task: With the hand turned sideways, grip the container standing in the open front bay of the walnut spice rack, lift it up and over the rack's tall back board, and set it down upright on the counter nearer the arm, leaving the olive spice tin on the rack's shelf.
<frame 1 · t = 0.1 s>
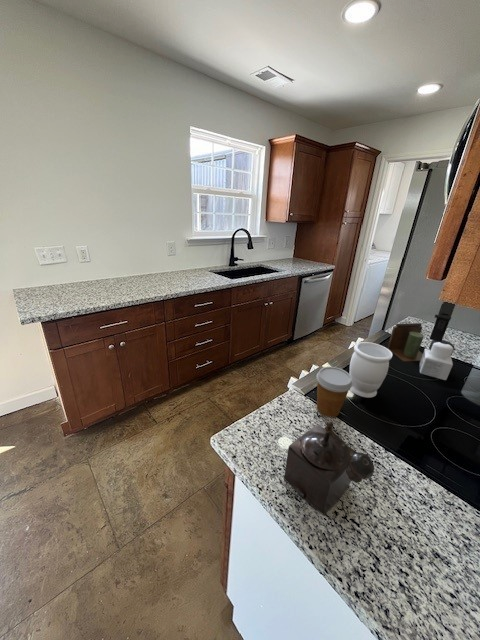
hand: (437, 332, 77), 22 cm above the worktop, tool pointing down, fingers open, 13 cm apart
container: (431, 374, 95), on the worktop
jar: (361, 390, 86), on the worktop
disposable coffee cup: (327, 410, 77), on the worktop
spice rack: (419, 364, 101), on the worktop
spice tin: (409, 354, 105), point 1 cm above the worktop, touching spice rack
brown coffee grinder: (325, 491, 55), on the worktop
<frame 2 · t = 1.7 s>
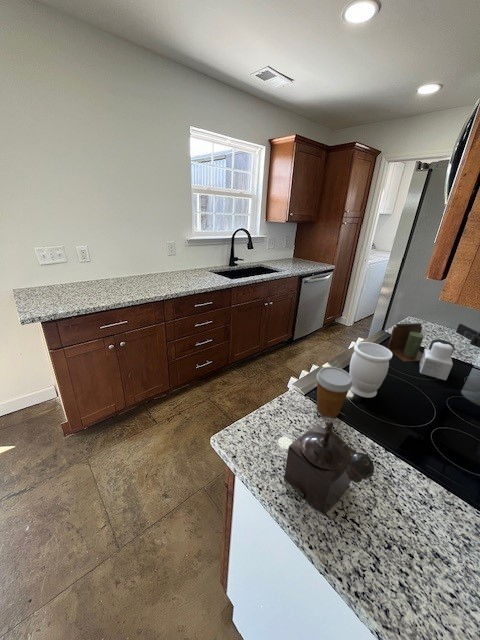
hand: (479, 328, 78), 22 cm above the worktop, tool horizontal, fingers open, 13 cm apart
nothing on the worktop moved.
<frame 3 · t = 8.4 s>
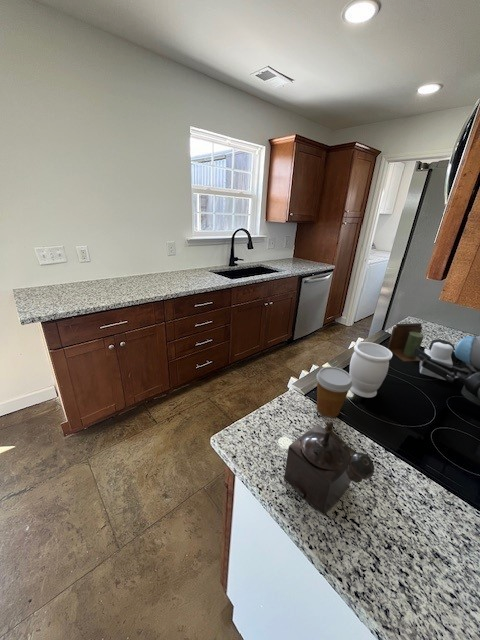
hand: (429, 350, 96), 7 cm above the worktop, tool horizontal, fingers closed on container, 10 cm apart
container: (431, 374, 95), on the worktop, touching gripper
everything else where it was.
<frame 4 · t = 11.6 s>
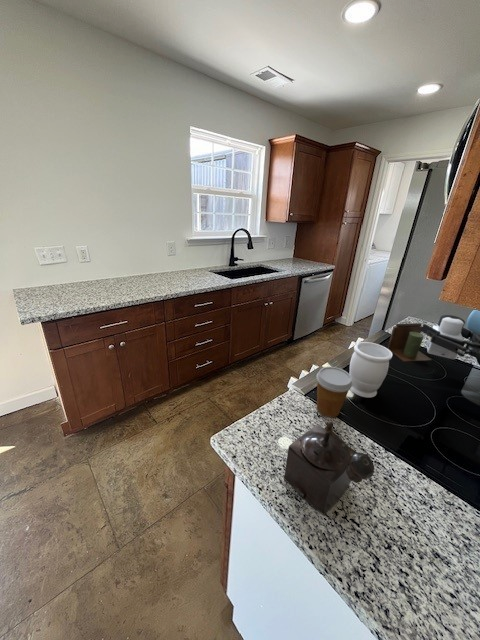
hand: (437, 327, 92), 17 cm above the worktop, tool horizontal, fingers closed on container, 10 cm apart
container: (439, 352, 92), point 9 cm above the worktop, touching gripper
everything else where it was.
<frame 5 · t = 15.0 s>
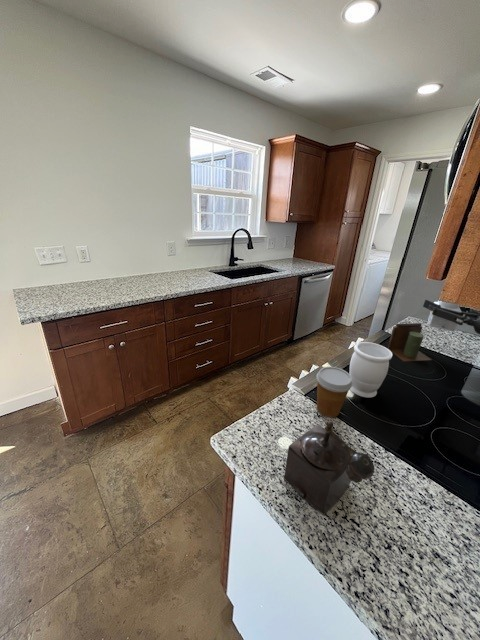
hand: (438, 302, 101), 22 cm above the worktop, tool horizontal, fingers closed on container, 10 cm apart
container: (440, 325, 100), point 14 cm above the worktop, touching gripper
everything else where it was.
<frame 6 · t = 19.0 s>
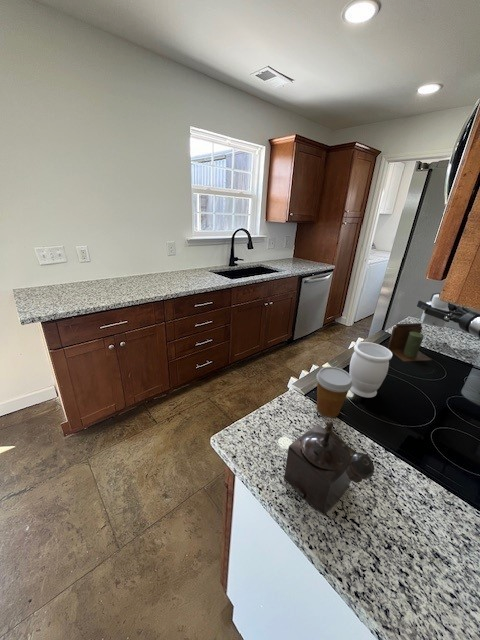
hand: (430, 303, 116), 17 cm above the worktop, tool horizontal, fingers closed on container, 10 cm apart
container: (431, 323, 115), point 9 cm above the worktop, touching gripper
everything else where it was.
when the fingers open (7 cm above the worktop, at t = 22.1 s): container stays where it is, on the worktop.
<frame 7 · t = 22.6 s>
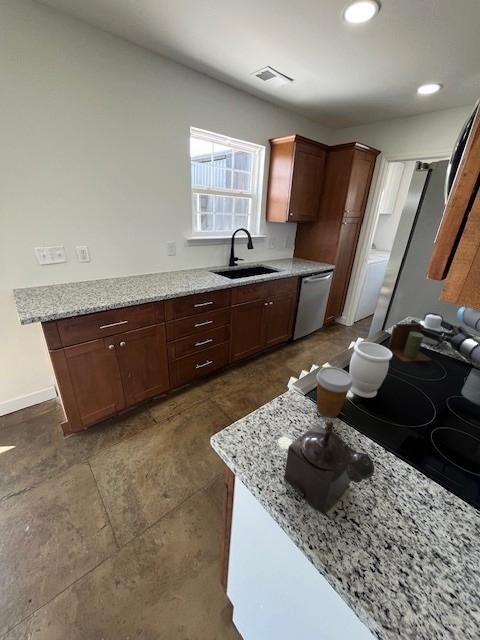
hand: (425, 322, 118), 8 cm above the worktop, tool horizontal, fingers open, 13 cm apart
container: (424, 341, 119), on the worktop
everything else where it was.
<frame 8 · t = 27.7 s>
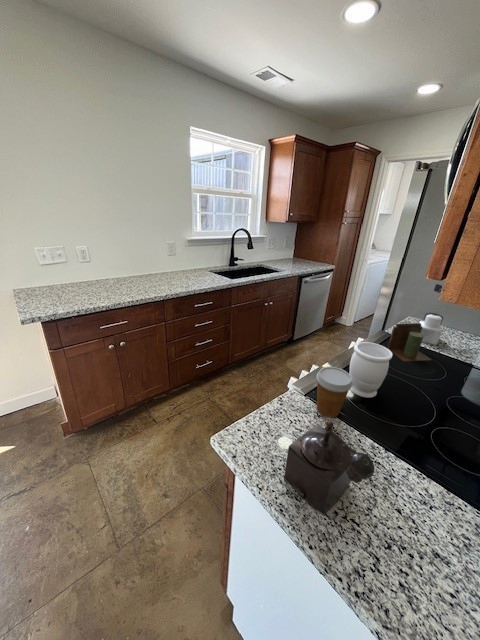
hand: (450, 287, 106), 26 cm above the worktop, tool horizontal, fingers open, 13 cm apart
nothing on the worktop moved.
at the end: container inside the target area (0.1 cm from its centre), on the worktop; container tilted 0°; the gripper is holding nothing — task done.
